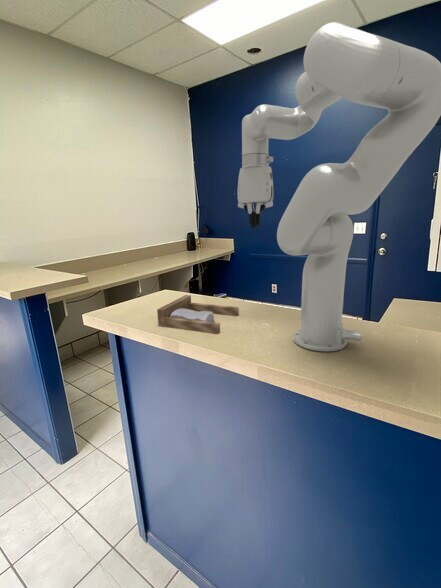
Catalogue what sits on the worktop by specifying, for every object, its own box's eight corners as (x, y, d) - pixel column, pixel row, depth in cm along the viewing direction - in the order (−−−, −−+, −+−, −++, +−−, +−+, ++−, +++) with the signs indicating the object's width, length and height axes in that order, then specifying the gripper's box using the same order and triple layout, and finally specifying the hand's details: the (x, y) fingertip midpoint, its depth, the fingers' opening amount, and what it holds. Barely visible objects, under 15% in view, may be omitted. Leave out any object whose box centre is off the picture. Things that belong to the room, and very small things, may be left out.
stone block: (183, 321, 100) (166, 326, 90) (184, 306, 99) (168, 309, 90) (217, 326, 96) (203, 332, 86) (218, 311, 95) (205, 315, 86)
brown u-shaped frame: (238, 314, 99) (238, 299, 97) (217, 333, 84) (217, 316, 82) (186, 309, 106) (185, 295, 105) (158, 325, 91) (157, 309, 90)
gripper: (283, 162, 90) (281, 226, 95) (235, 166, 96) (236, 226, 101) (277, 158, 84) (276, 227, 88) (226, 163, 89) (227, 228, 94)
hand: (255, 227), depth 94 cm, fingers closed
